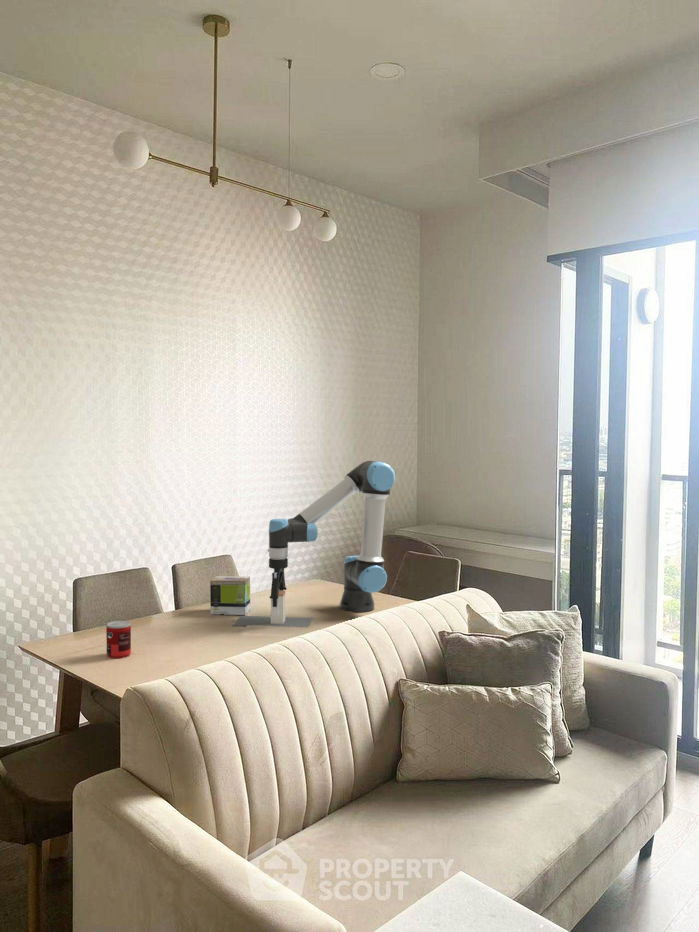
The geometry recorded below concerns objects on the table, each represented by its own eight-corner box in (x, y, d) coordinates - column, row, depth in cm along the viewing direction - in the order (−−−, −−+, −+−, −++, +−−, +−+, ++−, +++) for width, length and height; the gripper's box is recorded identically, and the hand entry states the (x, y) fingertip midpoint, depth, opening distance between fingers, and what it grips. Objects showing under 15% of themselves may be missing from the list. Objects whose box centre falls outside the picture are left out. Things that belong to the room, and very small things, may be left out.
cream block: (285, 620, 290) (285, 591, 290) (283, 623, 285) (283, 594, 285) (273, 620, 291) (273, 590, 290) (270, 623, 286) (270, 593, 285)
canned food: (109, 652, 249) (109, 620, 249) (133, 651, 250) (132, 620, 249) (103, 659, 242) (103, 626, 241) (128, 658, 242) (128, 626, 242)
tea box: (250, 610, 309) (250, 576, 308) (244, 616, 299) (245, 580, 298) (216, 608, 310) (216, 575, 310) (209, 614, 300) (209, 579, 300)
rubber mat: (312, 619, 295) (312, 617, 295) (308, 628, 281) (308, 627, 281) (240, 616, 297) (240, 615, 297) (232, 626, 283) (232, 624, 283)
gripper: (274, 552, 299) (274, 602, 301) (263, 563, 275) (262, 618, 276) (292, 552, 299) (292, 603, 300) (282, 563, 274) (282, 618, 275)
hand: (278, 610), depth 288 cm, fingers open, 13 cm apart
